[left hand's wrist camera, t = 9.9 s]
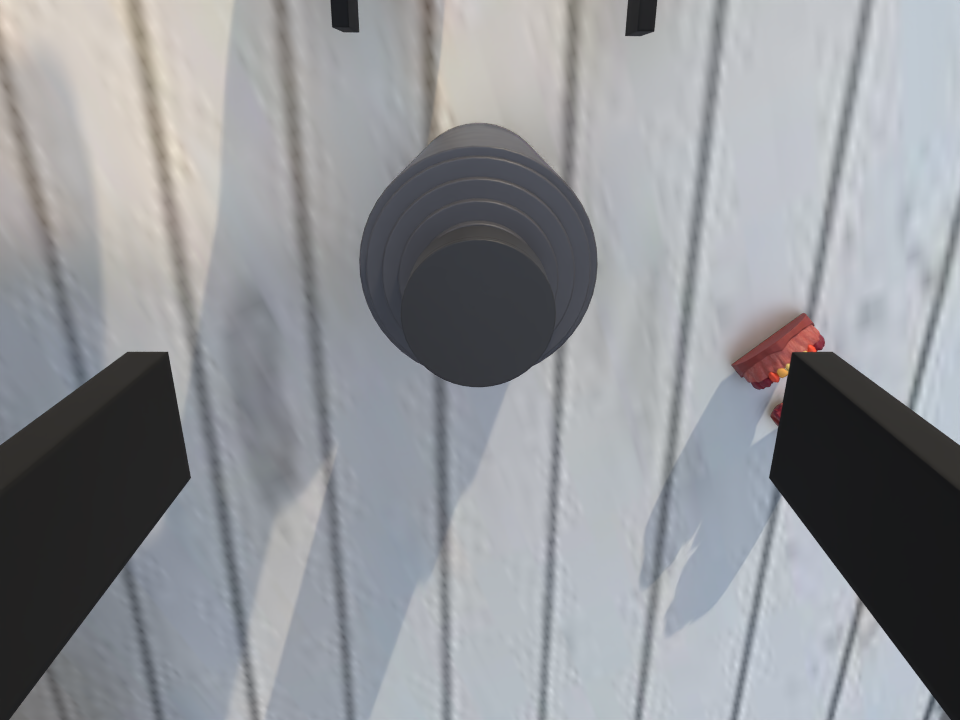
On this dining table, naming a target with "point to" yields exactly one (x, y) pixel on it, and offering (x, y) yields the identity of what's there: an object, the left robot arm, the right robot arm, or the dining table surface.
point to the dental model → (778, 355)
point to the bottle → (478, 221)
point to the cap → (478, 307)
